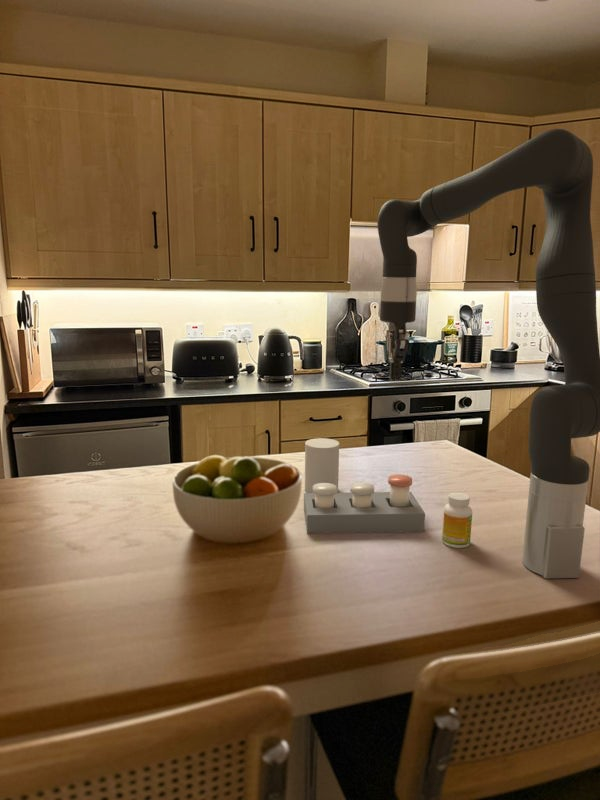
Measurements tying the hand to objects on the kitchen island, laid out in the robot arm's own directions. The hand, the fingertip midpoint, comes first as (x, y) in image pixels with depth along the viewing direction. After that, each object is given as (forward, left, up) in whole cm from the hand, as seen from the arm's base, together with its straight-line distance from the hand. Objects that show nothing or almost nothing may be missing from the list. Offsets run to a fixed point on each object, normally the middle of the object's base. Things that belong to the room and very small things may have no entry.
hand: (395, 379), depth 126 cm
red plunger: (-9, 0, -27) cm, 28 cm away
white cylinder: (+9, +15, -29) cm, 34 cm away
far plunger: (-9, +16, -28) cm, 34 cm away
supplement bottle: (-20, -9, -29) cm, 37 cm away
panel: (-9, +8, -29) cm, 31 cm away
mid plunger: (-9, +8, -28) cm, 31 cm away
